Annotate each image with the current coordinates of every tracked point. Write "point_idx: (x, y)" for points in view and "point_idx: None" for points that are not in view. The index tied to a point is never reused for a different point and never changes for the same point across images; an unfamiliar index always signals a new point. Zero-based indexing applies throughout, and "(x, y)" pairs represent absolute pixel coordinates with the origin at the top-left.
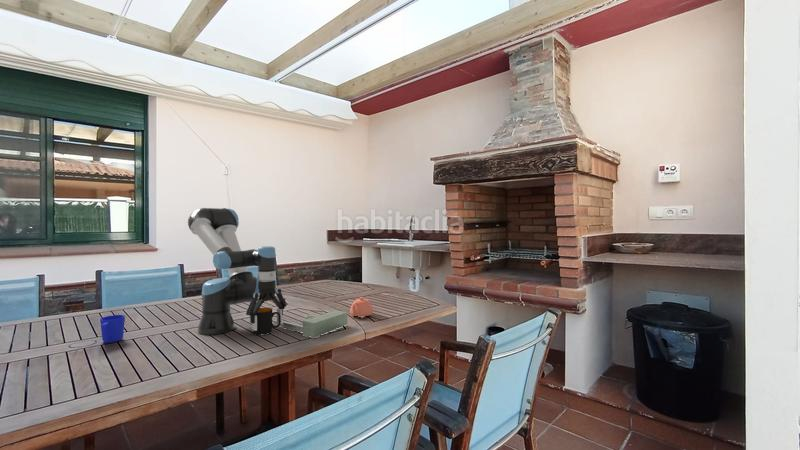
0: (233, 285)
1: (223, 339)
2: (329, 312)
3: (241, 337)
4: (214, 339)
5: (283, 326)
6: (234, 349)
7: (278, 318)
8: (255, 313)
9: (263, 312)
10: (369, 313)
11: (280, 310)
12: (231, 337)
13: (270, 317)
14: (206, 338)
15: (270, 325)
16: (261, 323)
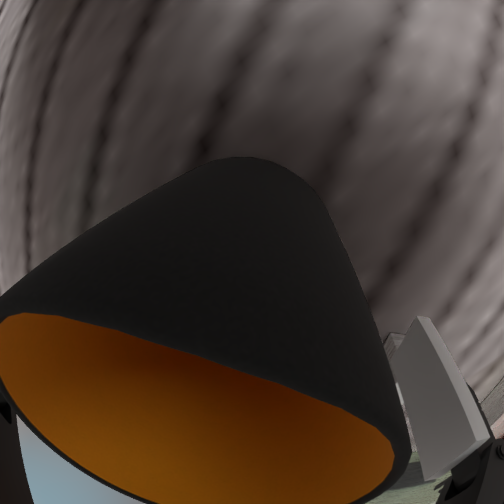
0: None
1: (14, 109)
2: (434, 502)
3: (72, 179)
4: (4, 67)
5: (391, 351)
6: (3, 291)
7: (418, 369)
8: (7, 422)
9: (105, 481)
10: None
11: (424, 471)
12: (46, 113)
13: (228, 445)
14: (9, 18)
15: (242, 372)
16: (136, 361)
